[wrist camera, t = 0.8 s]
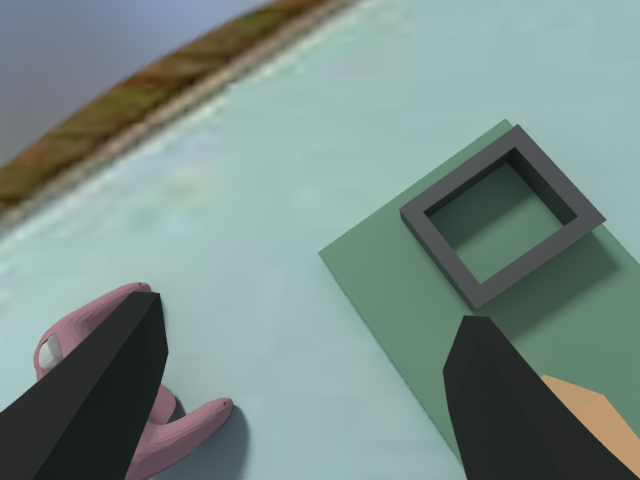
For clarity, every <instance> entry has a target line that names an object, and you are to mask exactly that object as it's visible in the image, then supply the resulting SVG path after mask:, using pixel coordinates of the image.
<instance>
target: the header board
mask: <svg viewBox="0 0 640 480" xmlns="http://www.w3.org/2000/svg"><path fill="white" fill-rule="evenodd" d="M605 221H606V219H605V218H604V217H603V215H602V214H601V213H600V212H599V211H598V210H597V209H596V208H595V207H594V206H593V205H592V204H591V202H590V201H589V200H588V199H587V198H586V197H585V196H584V195H583V194H582V193H581V192H580V191H579V190H578V188H577V187H576V186H575V185H574V184H573V183H572V182H571V181H570V180H569V179H568V178H567V177H566V175H565V174H564V173H563V172H562V171H561V170H560V169H559V168H558V167H557V166H556V165H555V164H554V162H553V161H552V160H551V159H550V158H549V157H548V156H547V155H546V154H545V153H544V152H543V151H542V149H541V148H540V147H539V146H538V145H537V144H536V143H535V142H534V141H533V140H532V139H531V138H530V136H529V135H528V134H527V133H526V132H525V131H524V130H523V129H522V128H521V127H520V126H519V125H518V124H517V125H516V126H515V127H513V126H512V125H511V124H510V123H509V122H508V121H507V120H506V119H504V120H503V121H502V122H500V123H499V124H497V125H496V126H495V127H493V128H492V129H490V130H489V131H488V132H486V133H485V134H483V135H482V136H481V137H479V138H478V139H476V140H475V141H474V142H472V143H471V144H469V145H468V146H467V147H465V148H464V149H462V150H461V151H460V152H458V153H457V154H455V155H454V156H453V157H451V158H450V159H448V160H447V161H446V162H444V163H443V164H441V165H440V166H439V167H437V168H436V169H434V170H433V171H432V172H430V173H429V174H427V175H426V176H425V177H423V178H422V179H420V180H419V181H418V182H416V183H415V184H413V185H412V186H411V187H409V188H408V189H406V190H405V191H404V192H402V193H401V194H399V195H398V196H397V197H395V198H394V199H392V200H391V201H390V202H388V203H387V204H385V205H384V206H383V207H381V208H380V209H378V210H377V211H376V212H374V213H373V214H371V215H370V216H369V217H367V218H366V219H364V220H363V221H362V222H360V223H359V224H357V225H356V226H355V227H353V228H352V229H350V230H349V231H348V232H346V233H345V234H343V235H342V236H341V237H339V238H338V239H336V240H335V241H334V242H332V243H331V244H329V245H328V246H327V247H325V248H324V249H322V250H321V251H320V252H318V254H319V255H320V257H321V258H322V260H323V261H324V263H325V264H326V265H327V267H328V268H329V270H330V271H331V273H332V274H333V276H334V277H335V279H336V280H337V282H338V283H339V285H340V286H341V288H342V289H343V290H344V292H345V293H346V295H347V296H348V298H349V299H350V301H351V302H352V304H353V305H354V307H355V308H356V310H357V311H358V312H359V314H360V315H361V317H362V318H363V320H364V321H365V323H366V324H367V326H368V327H369V329H370V330H371V332H372V333H373V334H374V336H375V337H376V339H377V340H378V342H379V343H380V345H381V346H382V348H383V349H384V351H385V352H386V354H387V355H388V356H389V358H390V359H391V361H392V362H393V364H394V365H395V367H396V368H397V370H398V371H399V373H400V374H401V376H402V377H403V378H404V380H405V381H406V383H407V384H408V386H409V387H410V389H411V390H412V392H413V393H414V395H415V396H416V398H417V399H418V401H419V402H420V403H421V405H422V406H423V408H424V409H425V411H426V412H427V414H428V415H429V417H430V418H431V420H432V421H433V423H434V424H435V425H436V427H437V428H438V430H439V431H440V433H441V434H442V436H443V437H444V439H445V440H446V442H447V443H448V445H449V446H450V447H451V449H452V450H453V452H454V453H455V455H456V456H457V458H458V459H459V461H460V462H461V464H462V465H463V463H462V459H461V456H460V452H459V449H458V445H457V441H456V438H455V434H454V430H453V426H452V423H451V419H450V415H449V411H448V405H447V399H446V393H445V385H444V378H443V368H444V365H445V362H446V360H447V357H448V355H449V352H450V349H451V347H452V344H453V342H454V339H455V336H456V334H457V331H458V329H459V326H460V324H461V321H462V318H463V316H464V315H470V316H483V317H489V318H490V319H491V320H492V321H493V322H494V324H495V325H496V326H497V327H498V328H499V329H500V331H501V332H502V333H503V334H504V335H505V337H506V338H507V339H508V340H509V342H510V343H511V344H512V345H513V346H514V348H515V349H516V350H517V351H518V352H519V353H520V355H521V356H522V357H523V358H524V359H525V361H526V362H527V363H528V364H529V365H530V366H531V368H532V369H533V370H534V371H535V372H536V373H537V375H538V376H539V377H542V376H543V375H548V376H551V377H554V378H557V379H559V380H562V381H565V382H568V383H571V384H574V385H577V386H579V387H582V388H585V389H588V390H591V391H594V392H597V393H600V394H602V395H604V396H605V397H606V399H607V400H608V401H609V402H610V404H611V405H612V406H613V407H614V409H615V410H616V411H617V412H618V413H619V415H620V416H621V417H622V418H623V420H624V421H625V422H626V423H627V425H628V426H629V427H630V428H631V430H632V431H633V432H634V433H635V434H636V436H637V437H638V438H639V439H640V264H639V263H638V262H637V261H636V260H635V259H634V258H633V257H632V256H631V255H630V254H629V252H628V251H627V250H626V249H625V248H624V247H623V246H622V245H621V244H620V243H619V242H618V240H617V239H616V238H615V237H614V236H613V235H612V234H611V233H610V232H609V231H608V230H607V228H606V227H605V226H604V225H603V224H602V223H603V222H605ZM463 467H464V466H463Z"/></svg>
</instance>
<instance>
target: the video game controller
mask: <svg viewBox="0 0 640 480" xmlns="http://www.w3.org/2000/svg"><path fill="white" fill-rule="evenodd" d="M133 291H137V292H151V288H150V286H149V285H148V284H146V283H142V282H137V283H130V284H127V285H124V286H121V287H119V288H117V289H115V290H113V291H111V292H109V293H107V294H105V295H103V296H101V297H99V298H97V299H96V300H94V301H92V302H90V303H88V304H86V305H85V306H83V307H81V308H79V309H77V310H75V311H73V312H72V313H70V314H68V315H67V316H65V317H63V318H62V319H60V320H59V321H58V322H57V323H55V324H54V325H53V326H52V327H51V328H50V329H48V330H47V331H46V333H45V334H44V335H43V337H42V338H41V340H40V342H39V344H38V346H37V348H36V350H35V353H34V367H35V369H36V371H37V382H38V381H39V380H40V379H41V378H42V377H44V376H45V375H46V374H47V373H48V372H49V371H50V370H52V369H53V368H54V367H55V366H56V365H57V364H58V363H59V362H60V361H62V360H63V359H64V358H65V357H66V356H67V355H68V354H69V353H70V352H71V351H72V350H73V349H74V348H75V347H76V346H77V345H79V344H80V343H81V342H82V341H83V340H84V339H85V338H86V337H87V336H88V335H89V334H90V333H91V332H92V331H93V330H94V329H95V328H96V327H97V326H98V325H99V324H100V323H101V322H102V321H103V320H104V319H105V318H106V317H107V316H108V315H109V314H110V313H111V312H112V311H113V310H114V309H115V308H116V307H117V306H118V305H119V304H120V303H121V302H122V301H123V300H124V299H125V298H126V297H127V296H128V295H129V294H130V293H131V292H133ZM175 406H176V401H175V397H174V395H173V394H172V392H171V391H170V390H169V389H168V388H166V387H165V386H163V385H161V384H160V387H159V391H158V394H157V397H156V400H155V402H154V405H153V407H152V410H151V413H150V415H149V418H148V420H147V423H146V426H145V428H144V431H143V433H142V436H141V438H140V441H139V443H138V446H137V448H136V451H135V454H134V456H133V459H132V461H131V464H130V466H129V469H128V471H127V474H126V476H125V479H124V480H149V478H150V477H151V476H153V475H155V474H158V473H160V472H162V471H164V470H165V469H167V468H169V467H171V466H172V465H174V464H176V463H177V462H179V461H180V460H181V459H183V458H184V457H186V456H187V455H189V454H190V453H191V452H192V451H193V450H194V449H196V448H197V447H198V446H199V445H200V444H201V443H203V442H204V441H205V440H206V439H207V438H208V437H209V436H210V435H211V434H212V433H214V432H215V431H216V430H217V429H218V428H219V427H220V426H221V425H222V424H223V423H224V422H225V421H226V420H227V418H228V417H229V416H230V414H231V411H232V408H233V402H232V400H231V399H230V398H220V399H217V400H214V401H211V402H209V403H206V404H205V405H203V406H201V407H200V408H198V409H196V410H195V411H193V412H191V413H189V414H188V415H186V416H184V417H183V418H181V419H178V420H176V421H174V422H171V423H169V424H167V422H168V420H169V418H170V416H171V415H172V413H173V412H174V409H175Z"/></svg>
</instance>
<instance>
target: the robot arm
mask: <svg viewBox="0 0 640 480" xmlns="http://www.w3.org/2000/svg"><path fill="white" fill-rule="evenodd" d="M167 356H168V345H167V338H166V332H165V325H164V319H163V312H162V306H161V299H160V293H151V292H137V291H133V292H131V293H130V294H129V295H128V296H127V297H126V298H125V299H124V300H123V301H122V302H121V303H120V304H119V305H118V306H117V307H116V308H115V309H114V310H113V311H112V312H111V313H110V314H109V315H108V316H107V317H106V318H105V319H104V320H103V321H102V322H101V323H100V324H99V325H98V326H97V327H96V328H95V329H94V330H93V331H92V332H91V333H90V334H89V335H88V336H87V337H86V338H85V339H84V340H83V341H82V342H81V343H80V344H79V345H77V346H76V347H75V348H74V349H73V350H72V351H71V352H70V353H69V354H68V355H67V356H66V357H65V358H64V359H63V360H62V361H60V362H59V363H58V364H57V365H56V366H55V367H54V368H53V369H52V370H50V371H49V372H48V373H47V374H46V375H45V376H44V377H42V378H41V379H40V380H39V381H38V382H37V383H35V384H34V385H33V386H32V387H31V388H30V389H29V390H27V391H26V392H25V393H24V394H23V395H22V396H20V397H19V398H18V399H17V400H16V401H14V402H13V403H12V404H11V405H9V406H8V407H7V408H6V409H4V410H3V411H2V412H1V413H0V480H124V479H125V476H126V474H127V471H128V469H129V466H130V464H131V461H132V459H133V456H134V454H135V451H136V448H137V446H138V443H139V441H140V438H141V436H142V433H143V431H144V428H145V426H146V423H147V420H148V418H149V415H150V413H151V410H152V407H153V405H154V402H155V400H156V397H157V394H158V391H159V387H160V384H161V380H162V376H163V373H164V368H165V364H166V360H167ZM443 378H444V385H445V393H446V399H447V405H448V411H449V415H450V419H451V423H452V426H453V430H454V434H455V438H456V441H457V445H458V449H459V452H460V456H461V459H462V463H463V466H464V470H465V474H466V477H467V480H640V478H639V477H638V476H636V475H635V474H634V473H633V472H632V471H631V470H630V469H629V468H628V467H627V466H626V465H625V464H623V463H622V462H621V461H620V460H619V459H618V458H617V457H616V456H615V455H614V454H613V453H612V452H610V451H609V450H608V449H607V448H606V447H605V446H604V445H603V444H602V443H601V442H600V441H599V440H598V439H597V438H596V437H595V436H594V435H593V434H592V433H591V432H590V431H589V430H588V429H587V428H586V427H585V426H584V425H583V424H582V423H581V422H580V421H579V419H578V418H577V417H576V416H575V415H574V414H573V413H572V412H571V411H570V410H569V409H568V408H567V407H566V406H565V405H564V404H563V403H562V402H561V400H560V399H559V398H558V397H557V396H556V395H555V394H554V393H553V392H552V391H551V389H550V388H549V387H548V386H547V385H546V384H545V383H544V381H543V380H542V379H541V378H540V377H539V376H538V375H537V373H536V372H535V371H534V370H533V369H532V368H531V366H530V365H529V364H528V363H527V362H526V361H525V359H524V358H523V357H522V356H521V355H520V353H519V352H518V351H517V350H516V349H515V348H514V346H513V345H512V344H511V343H510V342H509V340H508V339H507V338H506V337H505V335H504V334H503V333H502V332H501V331H500V329H499V328H498V327H497V326H496V325H495V324H494V322H493V321H492V320H491V319H490V318H489V317H483V316H470V315H464V316H463V318H462V321H461V324H460V326H459V329H458V331H457V334H456V336H455V339H454V342H453V344H452V347H451V349H450V352H449V355H448V357H447V360H446V362H445V365H444V368H443Z"/></svg>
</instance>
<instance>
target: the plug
mask: <svg viewBox="0 0 640 480" xmlns="http://www.w3.org/2000/svg"><path fill="white" fill-rule="evenodd" d="M540 378H541V379H542V380H543V381H544V383H545V384H546V385H547V386H548V387H549V388H550V389H551V391H552V392H553V393H554V394H555V395H556V396H557V397H558V398H559V399H560V400H561V402H562V403H563V404H564V405H565V406H566V407H567V408H568V409H569V410H570V411H571V412H572V413H573V414H574V415H575V416H576V417H577V418H578V419H579V421H580V422H581V423H582V424H583V425H584V426H585V427H586V428H587V429H588V430H589V431H590V432H591V433H592V434H593V435H594V436H595V437H596V438H597V439H598V440H599V441H600V442H601V443H602V444H603V445H604V446H605V447H606V448H607V449H608V450H609V451H610V452H612V453H613V454H614V455H615V456H616V457H617V458H618V459H619V460H620V461H621V462H622V463H623V464H625V465H626V466H627V467H628V468H629V469H630V470H631V471H632V472H633V473H634V474H635V475H636V476H638V477H639V478H640V439H639V438H638V437H637V436H636V434H635V433H634V432H633V431H632V430H631V428H630V427H629V426H628V425H627V423H626V422H625V421H624V420H623V418H622V417H621V416H620V415H619V413H618V412H617V411H616V410H615V409H614V407H613V406H612V405H611V404H610V402H609V401H608V400H607V399H606V397H605V396H604V395H602V394H600V393H597V392H594V391H591V390H588V389H585V388H582V387H579V386H577V385H574V384H571V383H568V382H565V381H562V380H559V379H557V378H554V377H551V376H548V375H543V376H542V377H540Z"/></svg>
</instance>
